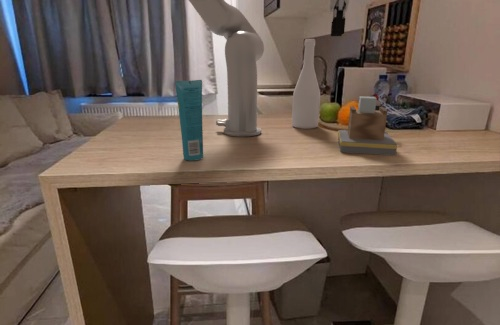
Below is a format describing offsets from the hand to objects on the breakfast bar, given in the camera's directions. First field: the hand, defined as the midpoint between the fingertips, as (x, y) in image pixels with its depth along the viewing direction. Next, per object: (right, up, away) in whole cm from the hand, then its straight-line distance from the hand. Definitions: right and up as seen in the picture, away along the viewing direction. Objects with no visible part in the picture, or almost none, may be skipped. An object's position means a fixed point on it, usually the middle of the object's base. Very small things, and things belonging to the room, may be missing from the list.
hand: (336, 35), depth 92 cm
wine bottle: (-5, -23, +27) cm, 36 cm away
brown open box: (+8, -29, 0) cm, 30 cm away
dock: (+8, -32, +1) cm, 33 cm away
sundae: (+14, -27, +15) cm, 34 cm away
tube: (-39, -35, -10) cm, 54 cm away
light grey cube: (+8, -22, -2) cm, 23 cm away
